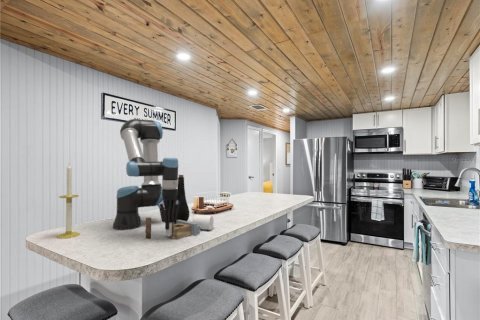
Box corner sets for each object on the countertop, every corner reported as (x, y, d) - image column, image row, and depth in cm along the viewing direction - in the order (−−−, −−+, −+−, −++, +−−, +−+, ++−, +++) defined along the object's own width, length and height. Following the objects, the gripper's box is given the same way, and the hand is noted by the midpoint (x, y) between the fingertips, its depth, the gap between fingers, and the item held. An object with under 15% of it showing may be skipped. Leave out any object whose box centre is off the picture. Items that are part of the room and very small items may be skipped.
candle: (73, 238, 126) (73, 163, 126) (52, 238, 126) (52, 162, 126) (84, 232, 136) (84, 162, 136) (64, 232, 136) (65, 162, 136)
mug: (209, 231, 140) (209, 217, 140) (192, 230, 142) (192, 216, 142) (215, 226, 151) (215, 213, 151) (199, 225, 153) (199, 212, 153)
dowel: (144, 238, 128) (144, 218, 128) (149, 236, 130) (149, 217, 130) (147, 239, 126) (147, 218, 126) (152, 237, 128) (152, 217, 128)
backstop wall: (176, 231, 140) (176, 220, 140) (183, 229, 144) (183, 218, 144) (194, 235, 132) (194, 224, 132) (201, 233, 136) (201, 222, 136)
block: (165, 235, 131) (166, 226, 131) (179, 231, 139) (179, 222, 139) (177, 239, 126) (177, 229, 126) (191, 234, 133) (191, 225, 133)
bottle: (192, 222, 160) (193, 174, 160) (180, 226, 151) (181, 175, 151) (180, 220, 165) (181, 174, 165) (168, 223, 157) (168, 175, 157)
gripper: (164, 190, 120) (162, 240, 120) (184, 188, 131) (183, 234, 130) (154, 188, 125) (153, 237, 124) (175, 187, 135) (174, 231, 135)
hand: (168, 235), depth 127 cm, fingers closed
